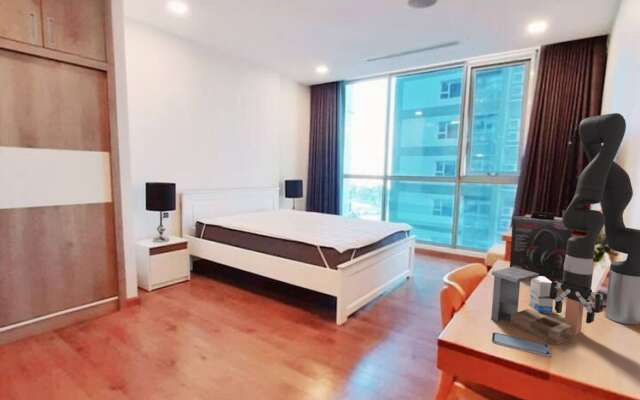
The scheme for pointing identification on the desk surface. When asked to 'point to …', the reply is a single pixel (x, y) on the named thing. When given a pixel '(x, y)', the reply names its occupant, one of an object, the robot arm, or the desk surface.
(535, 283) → the ink box
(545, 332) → the socket block
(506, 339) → the smartphone
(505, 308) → the panel
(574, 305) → the peg
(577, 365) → the desk surface
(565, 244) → the headset box
